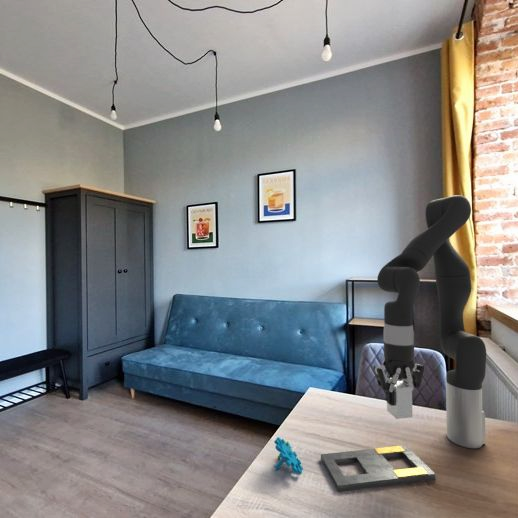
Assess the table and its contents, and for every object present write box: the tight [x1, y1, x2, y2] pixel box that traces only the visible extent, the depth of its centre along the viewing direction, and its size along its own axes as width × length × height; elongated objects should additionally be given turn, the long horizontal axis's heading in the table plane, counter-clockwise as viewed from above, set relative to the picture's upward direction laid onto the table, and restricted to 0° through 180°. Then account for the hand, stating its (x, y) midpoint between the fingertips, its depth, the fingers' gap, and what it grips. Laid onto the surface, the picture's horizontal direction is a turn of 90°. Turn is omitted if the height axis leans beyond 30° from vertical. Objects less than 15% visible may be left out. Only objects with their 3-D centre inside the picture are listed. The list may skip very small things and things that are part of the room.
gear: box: [273, 436, 304, 475], centre depth 82 cm, size 11×6×10 cm
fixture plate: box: [320, 444, 436, 493], centre depth 82 cm, size 26×12×2 cm, turn 99°
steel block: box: [386, 380, 413, 420], centre depth 83 cm, size 4×4×8 cm
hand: (399, 403), depth 83 cm, fingers closed on steel block, 4 cm apart
